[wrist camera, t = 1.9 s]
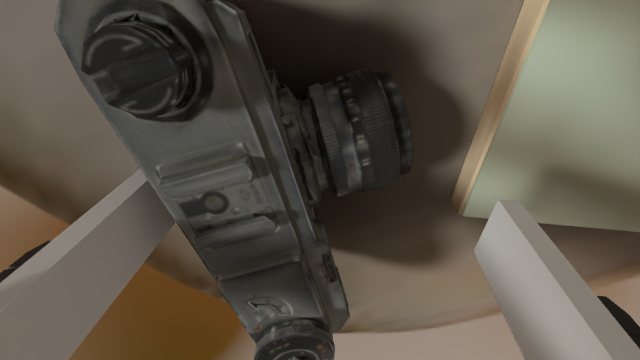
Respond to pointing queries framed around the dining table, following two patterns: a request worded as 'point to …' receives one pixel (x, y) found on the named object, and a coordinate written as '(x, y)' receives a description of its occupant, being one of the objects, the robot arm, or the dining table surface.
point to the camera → (240, 152)
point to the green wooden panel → (562, 119)
